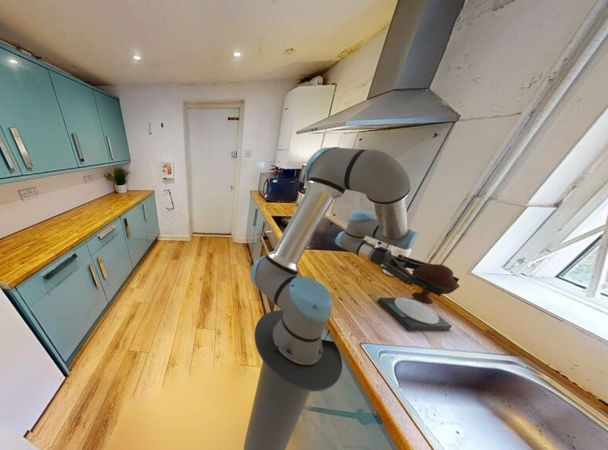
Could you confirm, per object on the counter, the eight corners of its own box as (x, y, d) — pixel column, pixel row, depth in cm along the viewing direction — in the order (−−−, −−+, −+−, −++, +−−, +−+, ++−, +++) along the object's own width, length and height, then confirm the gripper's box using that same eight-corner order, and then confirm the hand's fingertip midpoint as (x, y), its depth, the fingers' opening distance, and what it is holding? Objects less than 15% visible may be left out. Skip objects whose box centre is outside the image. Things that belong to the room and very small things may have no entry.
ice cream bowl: (453, 312, 66) (480, 277, 60) (415, 307, 68) (437, 272, 61) (427, 290, 75) (448, 257, 69) (394, 286, 77) (412, 253, 71)
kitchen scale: (407, 330, 69) (411, 324, 67) (377, 302, 80) (380, 296, 79) (448, 330, 69) (453, 324, 68) (412, 302, 81) (415, 296, 80)
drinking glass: (385, 268, 102) (397, 242, 96) (401, 276, 96) (415, 249, 90) (377, 270, 100) (389, 245, 94) (392, 279, 94) (406, 252, 88)
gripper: (386, 255, 89) (457, 285, 71) (355, 268, 79) (428, 307, 62) (393, 240, 86) (469, 268, 68) (361, 252, 76) (440, 289, 58)
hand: (449, 287), depth 65 cm, fingers closed on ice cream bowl, 11 cm apart
